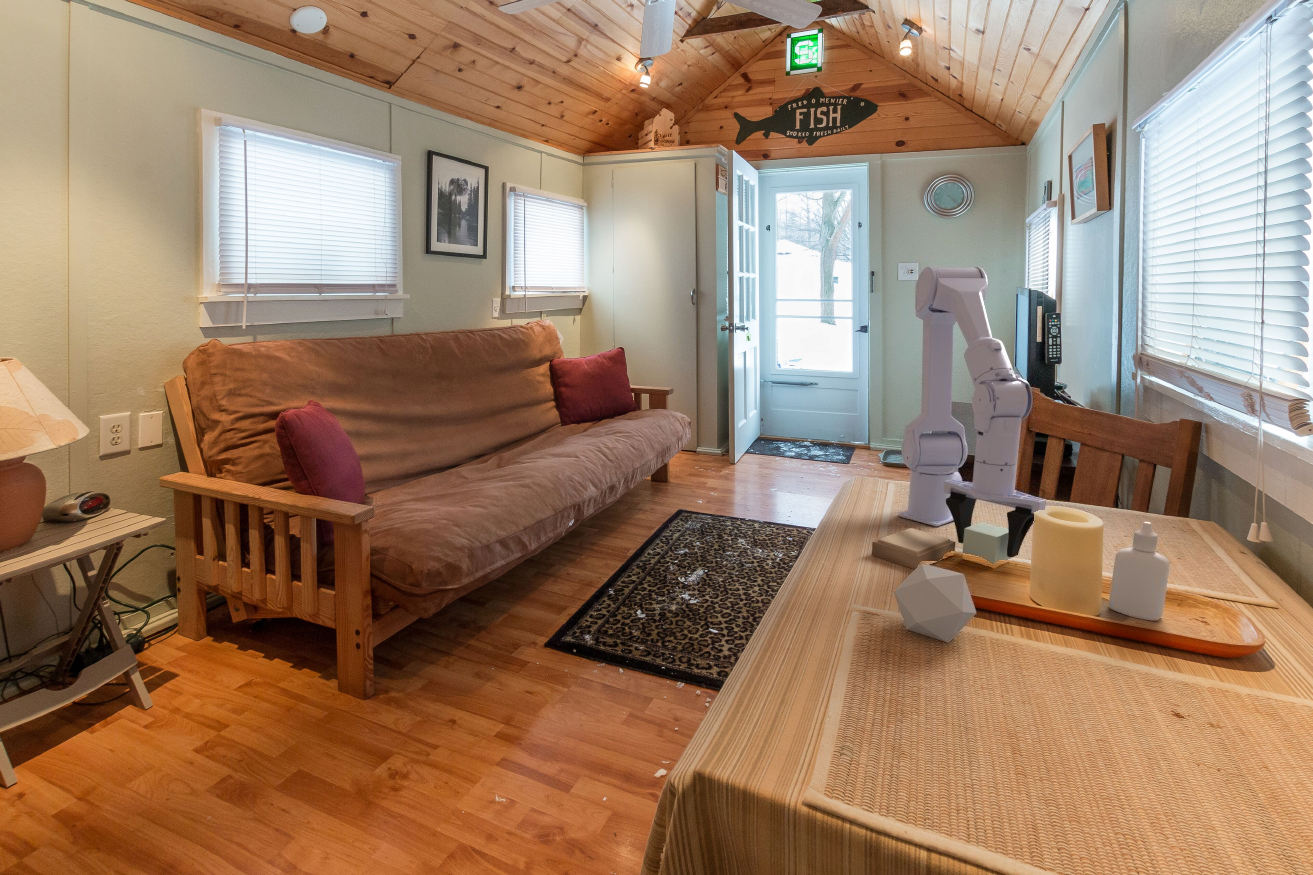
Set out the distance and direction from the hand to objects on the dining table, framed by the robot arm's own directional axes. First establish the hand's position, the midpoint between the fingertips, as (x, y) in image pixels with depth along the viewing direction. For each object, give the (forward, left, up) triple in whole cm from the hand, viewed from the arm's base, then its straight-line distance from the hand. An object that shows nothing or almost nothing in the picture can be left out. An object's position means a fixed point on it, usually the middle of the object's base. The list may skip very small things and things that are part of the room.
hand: (987, 548), depth 109 cm
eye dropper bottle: (+3, +21, -2) cm, 21 cm away
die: (+28, +8, -2) cm, 29 cm away
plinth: (+7, -8, -2) cm, 11 cm away
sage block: (0, 0, -2) cm, 2 cm away
